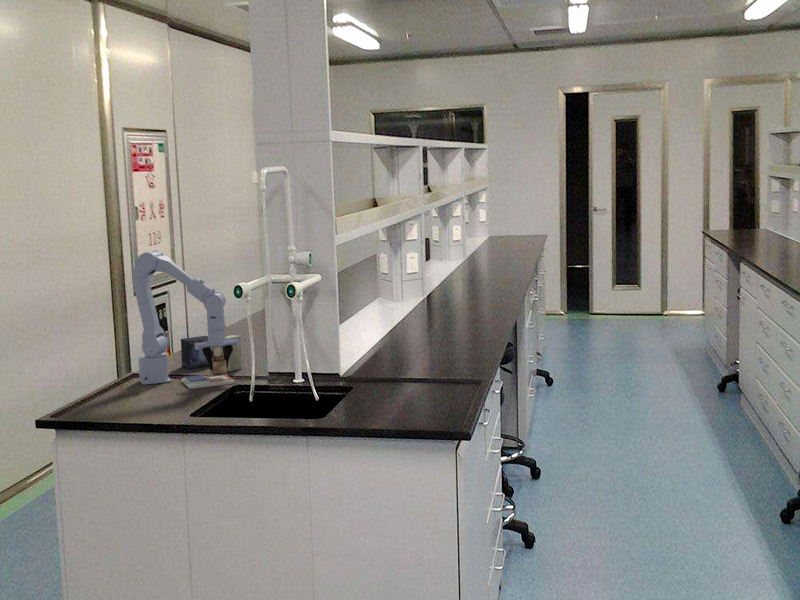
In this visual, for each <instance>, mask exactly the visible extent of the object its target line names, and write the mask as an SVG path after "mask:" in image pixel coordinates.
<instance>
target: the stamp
mask: <svg viewBox="0 0 800 600" xmlns="http://www.w3.org/2000/svg"><path fill="white" fill-rule="evenodd" d="M212 364H213V370H210V374H211V375H214V376H215V375H223V374H227V375H228V373H227V372H228V371H227V367H226V360H224V359H223V355H221V354H214V355H213V360H212Z"/></svg>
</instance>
